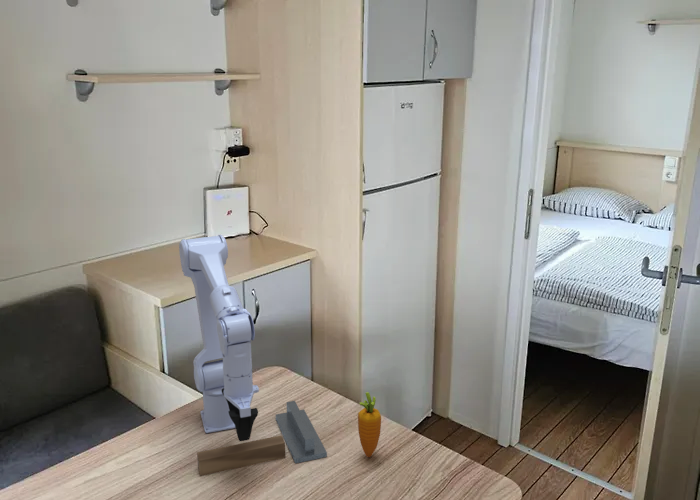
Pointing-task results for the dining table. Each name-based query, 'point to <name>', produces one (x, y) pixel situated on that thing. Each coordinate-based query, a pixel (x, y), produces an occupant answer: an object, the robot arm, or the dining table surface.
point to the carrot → (369, 425)
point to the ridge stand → (300, 434)
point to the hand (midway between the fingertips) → (240, 429)
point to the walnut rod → (240, 455)
